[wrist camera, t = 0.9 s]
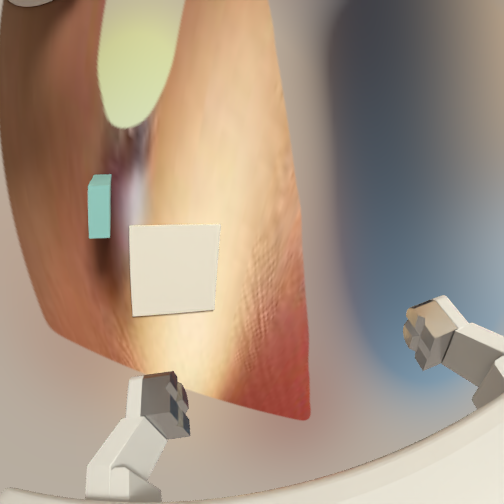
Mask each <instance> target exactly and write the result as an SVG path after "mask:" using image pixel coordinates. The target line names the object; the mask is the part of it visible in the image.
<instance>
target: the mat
mask: <svg viewBox="0 0 504 504" xmlns="http://www.w3.org/2000/svg"><path fill="white" fill-rule="evenodd" d="M220 229H221V224H179V225H136V226H129V249H130V279H131V298H132V312H133V316H147V315H160V314H172V313H184V312H195V311H206V310H215V295H216V280H217V267H218V254H219V241H220Z"/></svg>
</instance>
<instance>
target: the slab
mask: <svg viewBox="0 0 504 504" xmlns="http://www.w3.org/2000/svg"><path fill="white" fill-rule="evenodd" d="M110 223H111V174H104V175H94V176H93V178H92V180H91V181H90V183H89V185H88V226H89V238H110Z"/></svg>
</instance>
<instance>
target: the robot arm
mask: <svg viewBox="0 0 504 504" xmlns="http://www.w3.org/2000/svg"><path fill="white" fill-rule="evenodd" d="M8 1H10V2H11V3H13V4H15V5H18V6H23V7H31V6H37V5H41V4H45V3H48V2H50V1H52V0H8ZM406 316H407V318H408V320H407V322H406V323H405V324H404V328H403V334H404V339H405V342H406V344H407V345H408V347H409V348H410V349H412V350H414V351H416V353H415V359H416V360H417V362H418V363H419V365H420V367H421V368H422V370H423V371H424V370H426V369H429V368H431V367H433V366H436V365H438V364H440V363H442V364H443V365H444V366H446V367H447V368H449V369H451V370H452V371H454V372H455V373H457V374H459V375H460V376H462V377H463V378H465V379H466V380H468V381H470V382H471V383H473V384H475V385H476V386H478V387H479V388H478V389H477V391H476V392H475V394H474V395H473V398H472V401H473V403H474V405H475V406H476V408H477V410H476V411H474V412H472V413H471V414H469V415H467V416H466V417H464V418H462V419H460V420H458V421H457V422H455V423H453V424H451V425H449V426H448V427H446V428H444V429H442V430H440V431H438V432H436V433H434V434H432V435H430V436H428V437H426V438H424V439H422V440H419V441H418V442H415V443H413V444H411V445H409V446H406V447H404V448H402V449H400V450H397V451H395V452H393V453H390V454H388V455H385V456H383V457H380V458H378V459H375V460H372V461H370V462H367V463H364V464H362V465H358V466H356V467H353V468H350V469H347V470H344V471H341V472H337V473H335V474H331V475H328V476H324V477H321V478H317V479H314V480H310V481H307V482H303V483H298V484H294V485H290V486H286V487H281V488H277V489H272V490H267V491H262V492H256V493H251V494H244V495H238V496H232V497H224V498H215V499H206V500H195V501H181V502H162V500H161V490H160V489H159V488H157V487H156V486H154V485H152V484H151V483H149V482H147V480H148V478H149V476H150V474H151V472H152V470H153V468H154V466H155V464H156V463H157V461H158V459H159V456H160V454H161V453H162V451H163V449H164V447H165V445H166V443H167V439H174V438H181V437H188V436H190V425H189V419H188V417H187V416H186V415H185V413H186V412H187V410H188V409H189V407H188V399H187V394H186V391H185V389H184V387H183V385H182V384H181V383H179V382H177V376H176V374H175V373H174V371H171V372H164V373H157V374H149V375H141V376H134V377H131V378H130V380H129V385H128V394H127V405H126V417H125V418H122V419H121V420H120V421H119V423H118V424H117V426H116V427H115V428H114V430H113V431H112V433H111V434H110V435H109V437H108V438H107V439H106V441H105V442H104V444H103V445H102V446H101V448H100V449H99V451H98V452H97V453H96V455H95V456H94V457H93V459H92V460H91V462H90V463H89V465H88V466H87V478H86V494H85V500H83V499H75V498H66V497H60V496H53V495H47V494H42V493H36V492H31V491H26V490H22V489H18V488H11V487H10V488H6V489H5V490H4V491H3V492H2V493H1V494H0V504H504V336H502V335H499V334H497V333H495V332H492V331H490V330H488V329H486V328H483V327H481V326H479V325H476V324H474V323H470V324H469V323H468V322H467V321H466V320H465V318H464V317H463V316H462V315H461V313H460V312H459V311H458V310H457V309H456V307H455V306H454V305H453V304H452V303H451V302H450V300H449V299H448V298H447V297H446V296H444V295H442V296H439V297H437V298H434V299H432V300H428V301H426V302H423V303H421V304H418V305H415V306H413V307H410V308H409V309H408V310H407V314H406Z"/></svg>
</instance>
